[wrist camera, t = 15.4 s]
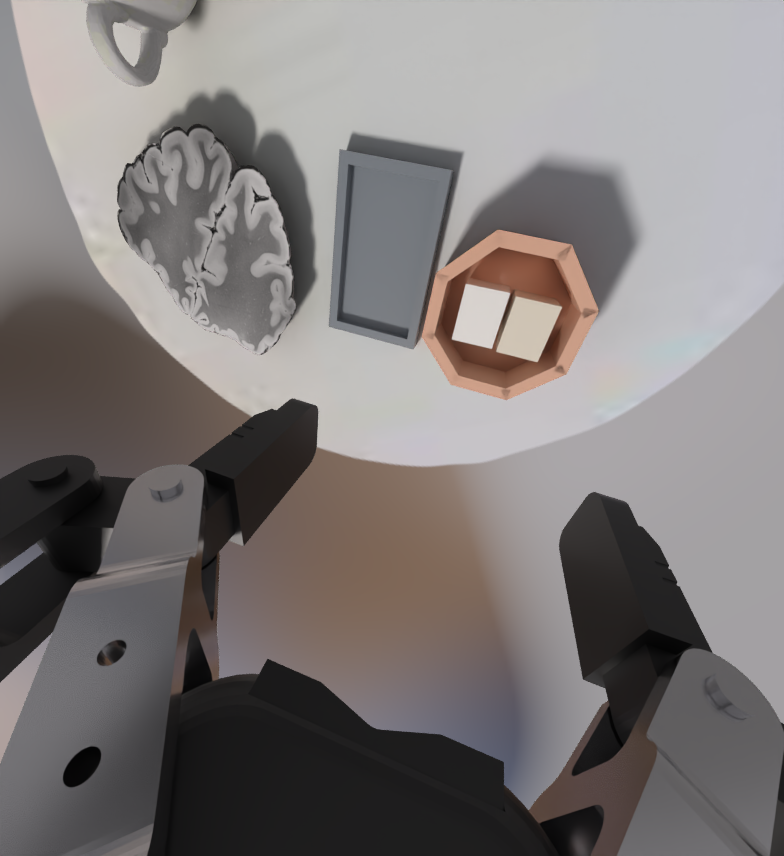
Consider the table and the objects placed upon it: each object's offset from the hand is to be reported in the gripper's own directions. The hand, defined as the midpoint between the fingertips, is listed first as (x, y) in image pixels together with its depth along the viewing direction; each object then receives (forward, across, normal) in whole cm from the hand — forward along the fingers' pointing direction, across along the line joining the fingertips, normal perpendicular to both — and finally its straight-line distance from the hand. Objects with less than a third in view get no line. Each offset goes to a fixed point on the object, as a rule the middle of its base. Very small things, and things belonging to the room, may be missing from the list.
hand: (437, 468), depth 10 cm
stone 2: (+24, -4, 0) cm, 24 cm away
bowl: (+24, -2, 0) cm, 24 cm away
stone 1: (+24, 0, 0) cm, 24 cm away
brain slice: (+25, +26, 0) cm, 36 cm away
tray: (+24, +10, -2) cm, 26 cm away
